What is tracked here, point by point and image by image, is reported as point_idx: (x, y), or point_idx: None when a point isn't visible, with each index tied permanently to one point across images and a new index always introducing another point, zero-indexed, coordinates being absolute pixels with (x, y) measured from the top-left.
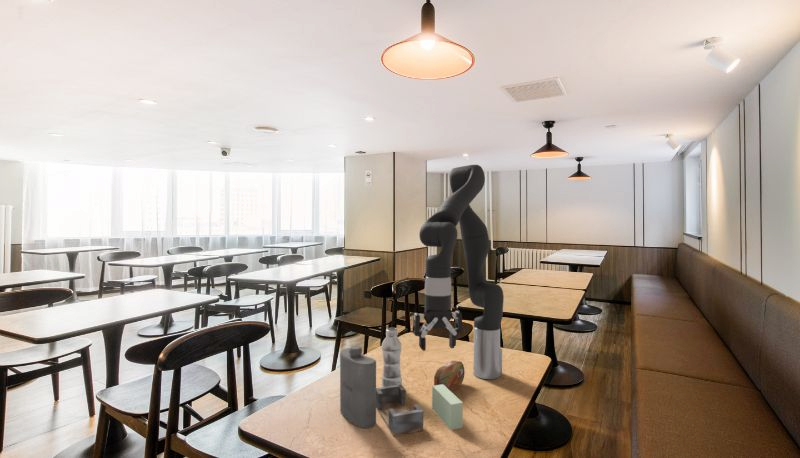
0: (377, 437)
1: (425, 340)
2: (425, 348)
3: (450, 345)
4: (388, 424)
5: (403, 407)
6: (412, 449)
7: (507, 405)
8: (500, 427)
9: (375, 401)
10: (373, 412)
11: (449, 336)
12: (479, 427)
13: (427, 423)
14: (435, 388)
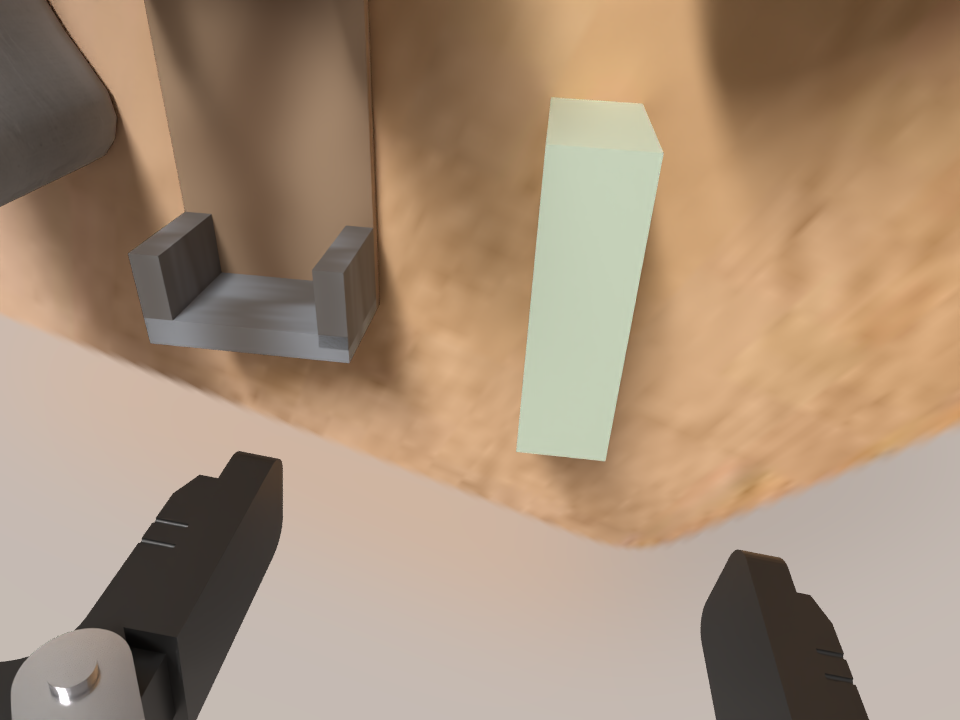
0: (122, 261)
1: (208, 685)
2: (266, 565)
3: (723, 606)
4: (186, 194)
5: (334, 15)
6: (276, 407)
7: None
8: (787, 442)
9: (8, 191)
10: (42, 185)
11: (782, 711)
12: (685, 400)
13: (432, 253)
14: (545, 203)
